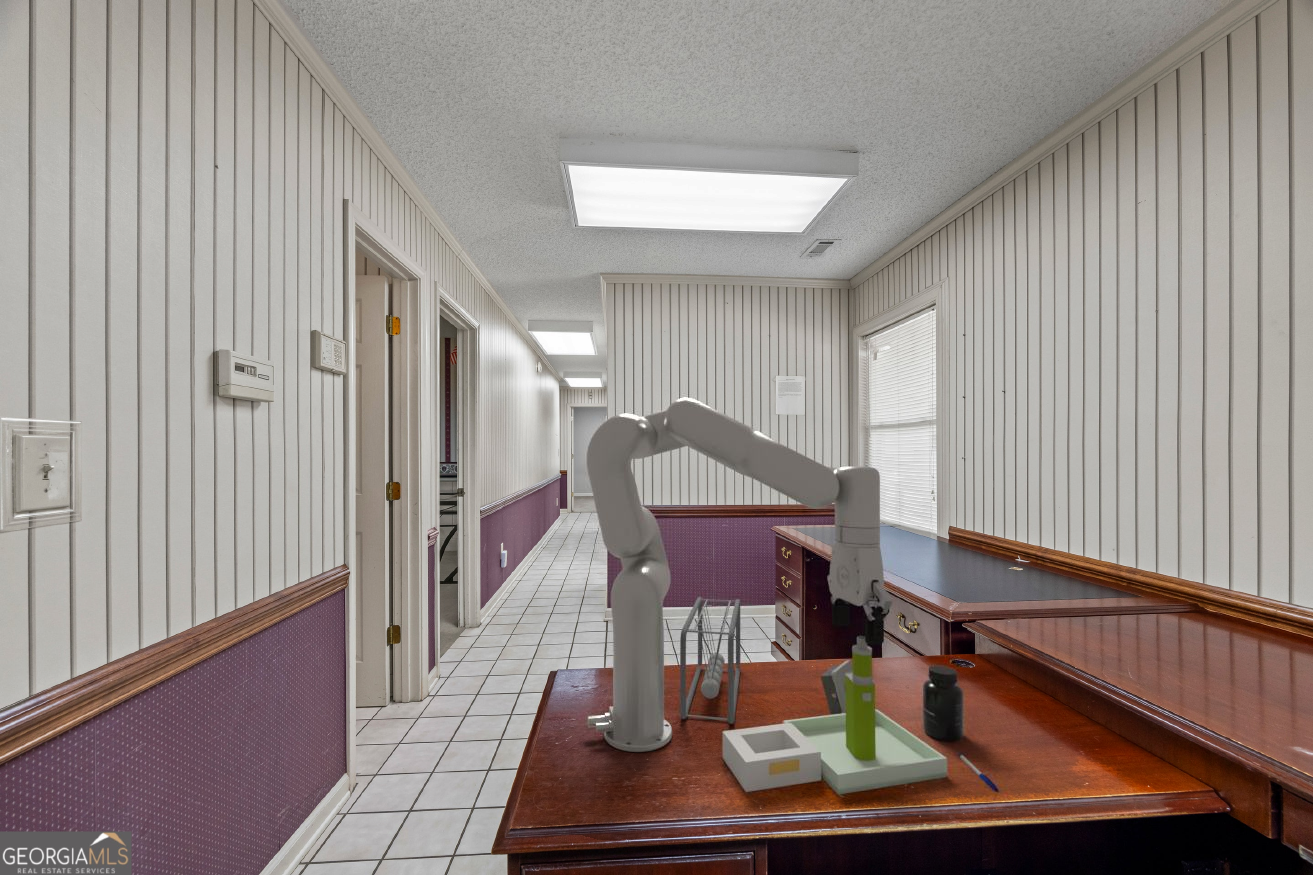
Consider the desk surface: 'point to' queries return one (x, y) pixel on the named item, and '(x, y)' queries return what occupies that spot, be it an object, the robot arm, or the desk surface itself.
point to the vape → (860, 704)
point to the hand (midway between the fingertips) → (857, 633)
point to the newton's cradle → (711, 660)
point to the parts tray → (895, 755)
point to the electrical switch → (836, 686)
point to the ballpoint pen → (979, 773)
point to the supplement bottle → (943, 705)
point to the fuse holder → (771, 756)
